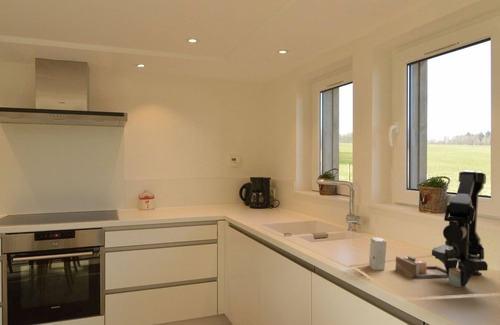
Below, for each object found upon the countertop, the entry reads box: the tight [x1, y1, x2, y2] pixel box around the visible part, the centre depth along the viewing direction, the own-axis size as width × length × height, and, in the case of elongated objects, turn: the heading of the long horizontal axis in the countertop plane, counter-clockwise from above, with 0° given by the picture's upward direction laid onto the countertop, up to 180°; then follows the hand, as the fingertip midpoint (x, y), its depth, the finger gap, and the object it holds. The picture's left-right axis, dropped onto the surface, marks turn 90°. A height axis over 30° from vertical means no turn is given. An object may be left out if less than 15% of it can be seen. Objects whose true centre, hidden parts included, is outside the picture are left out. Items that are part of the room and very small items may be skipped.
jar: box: [415, 258, 428, 275], centre depth 132 cm, size 5×5×4 cm
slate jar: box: [447, 267, 466, 288], centre depth 121 cm, size 5×5×6 cm
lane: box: [395, 256, 448, 280], centre depth 132 cm, size 18×10×6 cm, turn 102°
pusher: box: [403, 256, 419, 275], centre depth 131 cm, size 1×7×6 cm, turn 12°
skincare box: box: [368, 237, 387, 271], centre depth 137 cm, size 6×4×12 cm
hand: (456, 283), depth 121 cm, fingers closed on slate jar, 5 cm apart
